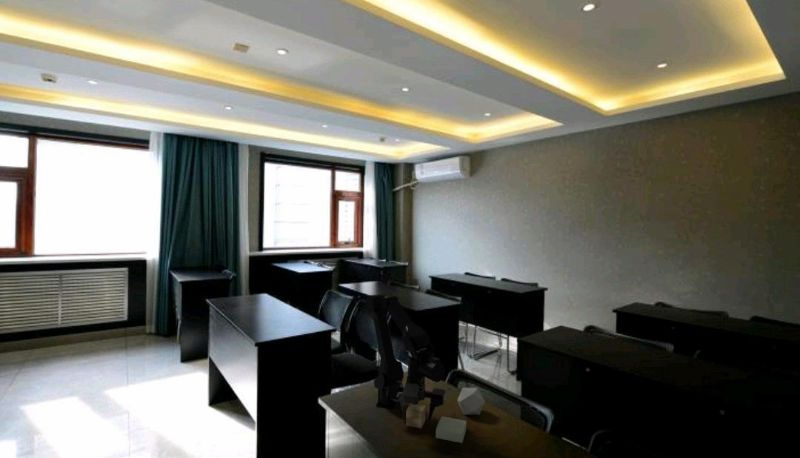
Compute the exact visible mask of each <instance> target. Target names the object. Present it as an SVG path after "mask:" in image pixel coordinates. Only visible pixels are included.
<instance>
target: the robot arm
mask: <svg viewBox="0 0 800 458" xmlns="http://www.w3.org/2000/svg"><path fill="white" fill-rule="evenodd" d="M364 306H365V308H366V312H367V314H368V315H369V317H371V319H372V320H373V324H374V330H375V335H376V340H377V345H378V351H379V352H378V353H379V356H380V363H379V364H378V365H379V366H378V368H377V369H378V376H377V377H376V378H375V379H374V380H373V385H374V388H376V389H377V402H376V403H375V406H376V407H379V408H386V409H391V410H393V409H394V408H395V407H396V406H397V409H398V412H399V414H400V417H401V418H403V417H404V412H405V404H409V405H410V404H413V405H417V404H418V405H419V402H421V401H425V399H430V403H429V412H428V423H431V421H432V418H433V415H434V412H435V409H436V408H438V407H439V408H440V407H441V406H444V403H445V401H446V400H447V391H446V390H445V389H443V388H437V387H434V388H433V390H431V391H429V390H426V386H427V385H426V378H427V379H428V380H430V381H432V382H434V383H440V382H441V381H442V380H443V379H444V377H445V373H446V368H445V366H444V364H443V363H442V362H441V359H440V358H439V357H435V355H436V352H435V348H434V346H433V344H432V341H431V339H430V336H429V335H428V334H427V332H426V331H425V330H424V329H423V327H421V326H420V325H417V324H416V323H414V321H413V320H412V318H411V317H410V316H409V315H408V313H407V311H406V310H405V309H404V308H403V306H402V304H401V303H400V302H399V299H398V296H397V295H396V296H395V295H388V296H387V295H386V294H384V293H380V294H372V295H371V294H369V295H368V296H367V297H366V299H365V300H364ZM388 314H389V316H391V319H392V320H393V321H394V323H395V324H396V326H397V327H398V329H399V330H400V332H401V334H402V335H401V336H402V338H401V339H402V342H403V344H404V346H405V348H406V350H405V351H404V352H403V354H404V355H405V356H407V376H406V382H405V384H403V379H404V376H405V375H404V374H405V372H404V368H403V363H402V361H401V360H398V359H397V358H396V357H395V352H394V347H393V343H392V337H391V332H390V327H389V321H388V318H387V317H388Z"/></svg>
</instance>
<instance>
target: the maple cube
mask: <svg viewBox="0 0 800 458" xmlns="http://www.w3.org/2000/svg"><path fill="white" fill-rule="evenodd" d="M405 414H406V415H405V417H406V418H405V426H407V427H413V428H417V429H422V427H423V426H424V424H425V422H426V405H424V404H419V403H418V404H417V405H413V404H409V405H408V406H407V409H406V413H405Z"/></svg>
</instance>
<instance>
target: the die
mask: <svg viewBox="0 0 800 458" xmlns="http://www.w3.org/2000/svg"><path fill="white" fill-rule="evenodd" d="M457 403H458V405H459V407H460V409H461V412H462V413H463V415H464V416H480V414H481V412H482V409H483V408H484V406H485V403H486V401H485V399H484V396H483V395H482V393H481V391H480V389H479V388H478V387H462V388H461V391H460V393H459V395H458V398H457Z"/></svg>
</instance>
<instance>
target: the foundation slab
mask: <svg viewBox="0 0 800 458" xmlns="http://www.w3.org/2000/svg"><path fill="white" fill-rule="evenodd" d="M466 431H467V420H464V419H459V418H452V417H447V416H441V417H440V419H439V421H438V423H437V426H436V428H435V438H436V439H441V440H445V441H446V440H447V441H451V442H454V443H455V442H456V443H461V444H463V442H464V438H465V435H466Z"/></svg>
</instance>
